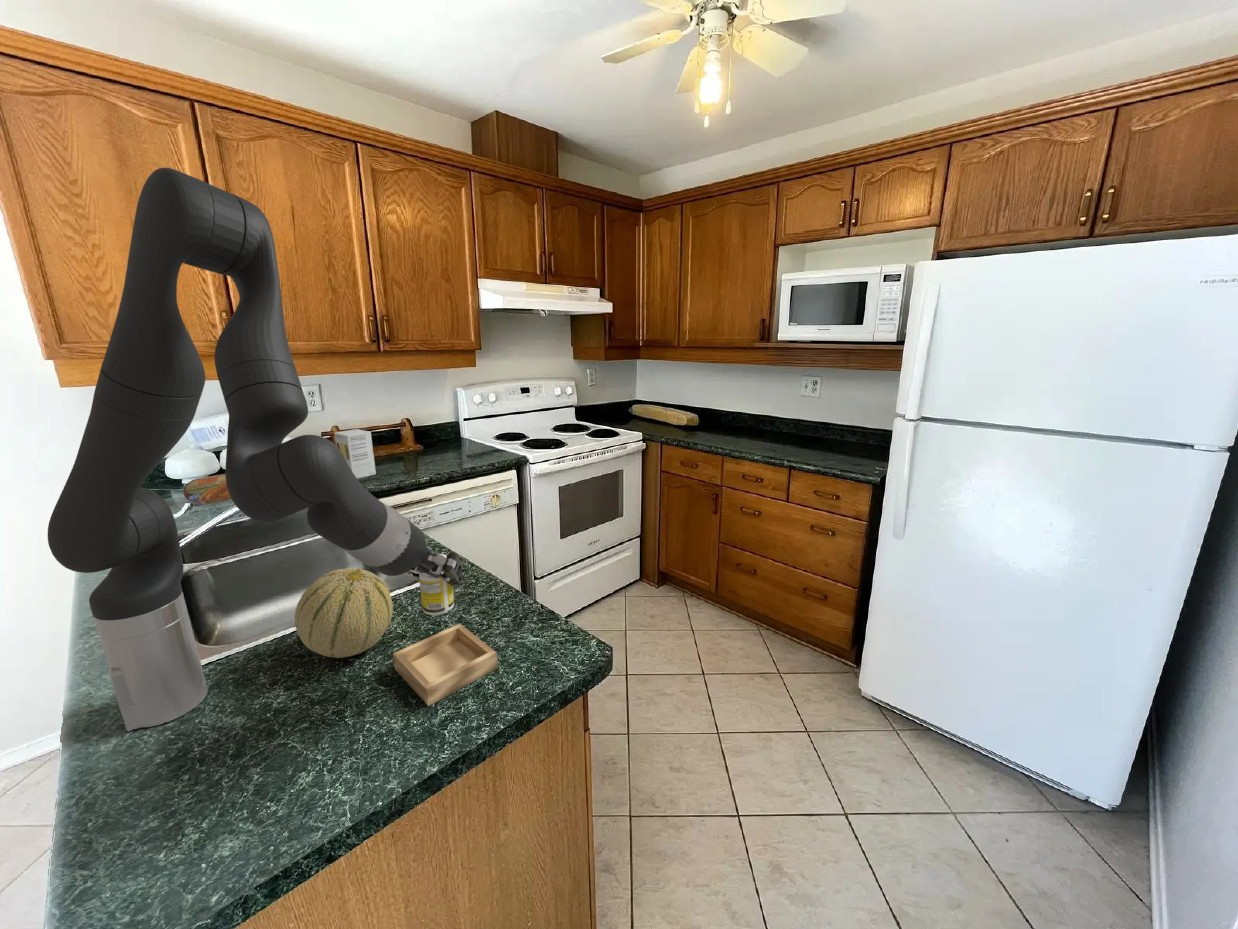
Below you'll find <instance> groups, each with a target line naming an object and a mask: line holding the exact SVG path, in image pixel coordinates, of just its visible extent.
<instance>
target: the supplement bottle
mask: <svg viewBox="0 0 1238 929" xmlns="http://www.w3.org/2000/svg"><path fill="white" fill-rule="evenodd" d="M440 554H441V555H443V556H444V557H445V558H446V556H447V555H446V554H444V553H443V554H442V553H440ZM431 570H432V569H431ZM431 570H430V572H431ZM441 570H442V569H441ZM441 573H442V574H443V573H444V572H441ZM418 581H419V588H420V589H419V590H420V597H421V605H422V606H421V608H422V611H423V612H424V613H425V614H427V615H431V616H438V615H443V614H446V613H447V612H449V611H451V610H452V609H453V607H454V605H455V597H454V587H453V586H451V585H450V584H448V583H447V582H445V581H443V580H442V579H440V578H429V577H427V576H425V575H422V574H419V579H418Z"/></svg>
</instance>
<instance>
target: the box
mask: <svg viewBox="0 0 1238 929" xmlns="http://www.w3.org/2000/svg"><path fill="white" fill-rule="evenodd" d="M392 657H393V666H394V670H395V671H396V672H397V673H398V674H399V675H400V676H401V678H402V679H403V680H404V681H405V682H406V683H407V684H408V685H409V686H410V688H412V690H413V691H414V692H415V694H417V695H418V696H419V697H420V699H421V700H422V701H423V702H424V703H425V704H426V705H427V706H428V707H429V706H431V705H433V704H435V703H438V702H439V701H441V700H442V699H444V698H446V697H448V696H450V695H451V694H453V693H455V692H457V691H459V690H461V689H463V688H464V687H467V686H468V685H470V684H471V683H473V682H476V681H477V680H479V679H481V678H482V677H485V676H487V675H488V674H490V673H492V672H494V671H495V670H498V668H499V667H498V666H499V665H498V663H499V662H498V653H497V651H495V649H493V648H491V646H489V645H488V644H486V643H485V642H484V641H483V640H482V639H480V638H479V637H478V636H476V635H475V634H474V633H472V632H471V631H470V630H468V629H467V628H466V627H465V626H464V625H462V624H461V623H458V624H455V625H454V626H451V627H449V628H447V629H445V630H442V631H440V632H438V633H436V634H433V635H431V636H428V637H427V638H424V639H422V640H420V641H418V642H416V643H413V644H411V645H408V646H406V647H404V648H402V649H400V650H398V651H396V652H393V653H392Z"/></svg>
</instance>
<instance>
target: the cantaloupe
mask: <svg viewBox="0 0 1238 929" xmlns="http://www.w3.org/2000/svg"><path fill="white" fill-rule="evenodd" d="M391 596H392V595H391V592H390V588H389V587H388V585H387V583H385V581H384V580H383V579H381V577H379V576H378V575H376V574H375V573H373V572H371V571H368V570H365V569H362V568H361V567H357V568H355V567H354V568H353V567H347V568H345V567H344V568H340V569H334V570H331V571H329V572H327V573H325V574H323V575H321V576H319V578H317V579H316V580H315V581H314V582H313V583H312V584H310V585H309V587H307V589H305V591H303V593H302V595H301V597H300V599H299V600H298V602H297V605H296V608H295V612H294V625H295V626H294V627H295V629H296V632H297V635H298V637H299V638H300V640H301V642H302V643H303V645H304V646H305V647H306V648H308V650H310V651H311V652H314V653H316V654H318V655H321V656H324V657H329V658H335V659H340V658H341V659H342V658H349V657H353V656H356V655H359V654H361V653H363V652H365V651H366V650H368V649H370V648H372V647H374V646H375V645H376V644H377V642H378V641H379V640H380V639H381V637H382V636H383V635H384V634H385V632H386V631H387V629H388V627H389V625H390V623H391V621H392V616H393V611H394V610H393V609H394V606H393V601H392V600H393V599H392V597H391Z"/></svg>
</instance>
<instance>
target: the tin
mask: <svg viewBox="0 0 1238 929" xmlns="http://www.w3.org/2000/svg"><path fill="white" fill-rule="evenodd" d="M183 495H184V498H185V500H186V501H188V502H189V503H190V502H192V503H191V504H193V505H196V506H205V505H209V504H213V503H217V502H221V501H223V502H224V501H228V500H232V499H231V497H230V494H229V492H228V489H227V484H226V477H225V473H221V474H216V475H212V476H211V475H210V476H206V477H200V478H196V479H192V480H191V481H188V482H187V483H186V485H184V488H183Z"/></svg>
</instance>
